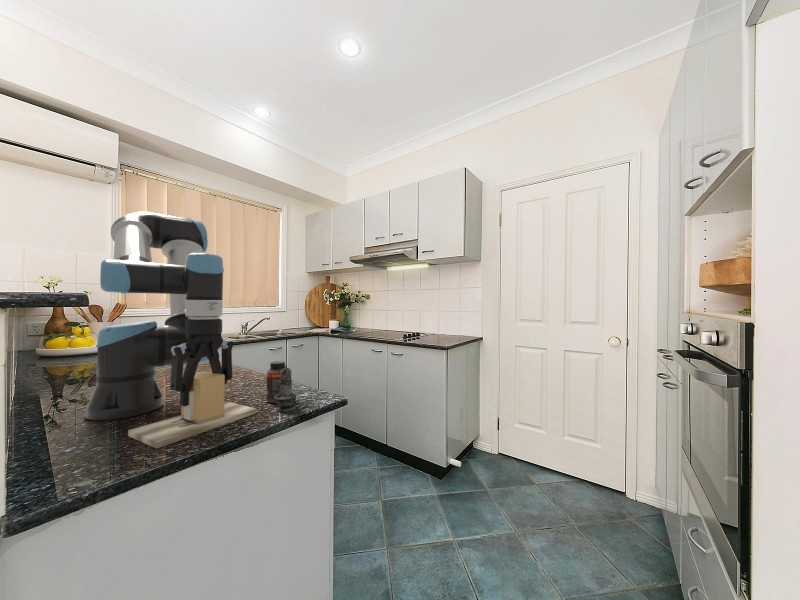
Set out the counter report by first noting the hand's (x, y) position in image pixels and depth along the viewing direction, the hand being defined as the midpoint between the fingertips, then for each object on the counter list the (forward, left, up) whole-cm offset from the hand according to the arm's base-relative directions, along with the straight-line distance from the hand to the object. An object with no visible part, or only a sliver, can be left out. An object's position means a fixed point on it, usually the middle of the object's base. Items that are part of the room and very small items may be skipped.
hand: (202, 414), depth 72 cm
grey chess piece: (+10, +16, -2) cm, 19 cm away
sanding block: (0, 0, -1) cm, 1 cm away
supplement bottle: (+2, +20, -2) cm, 20 cm away
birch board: (0, -1, -2) cm, 2 cm away
